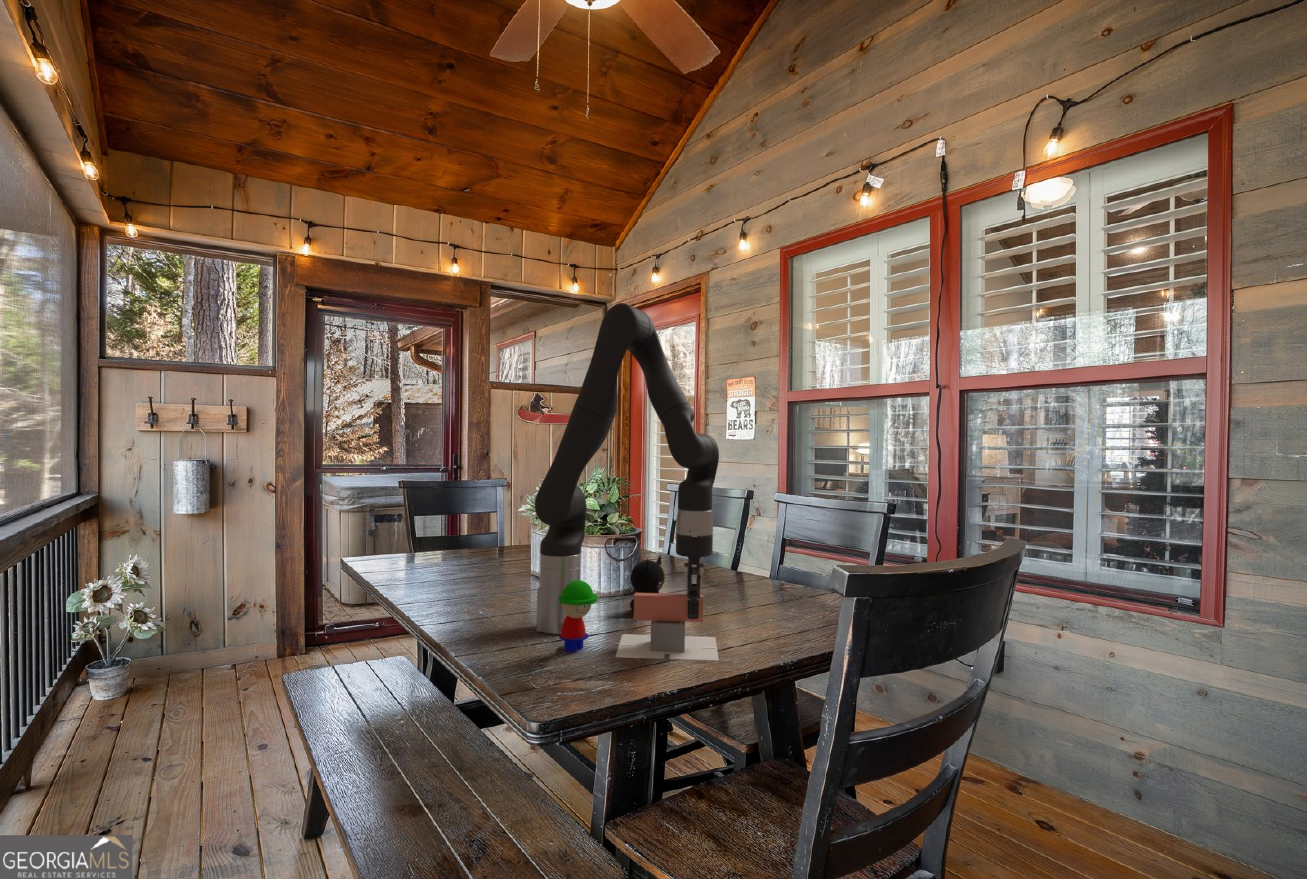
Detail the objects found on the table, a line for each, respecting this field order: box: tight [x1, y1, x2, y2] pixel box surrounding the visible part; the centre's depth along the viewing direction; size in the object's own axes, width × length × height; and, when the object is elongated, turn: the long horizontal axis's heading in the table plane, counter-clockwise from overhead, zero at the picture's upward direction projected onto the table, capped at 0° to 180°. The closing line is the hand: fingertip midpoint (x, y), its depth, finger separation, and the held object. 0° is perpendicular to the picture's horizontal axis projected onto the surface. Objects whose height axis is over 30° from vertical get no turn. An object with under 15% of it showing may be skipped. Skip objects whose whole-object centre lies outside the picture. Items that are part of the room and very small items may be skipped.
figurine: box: [629, 553, 666, 612], centre depth 165 cm, size 16×14×15 cm
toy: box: [558, 580, 599, 654], centre depth 131 cm, size 8×8×15 cm
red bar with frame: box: [633, 592, 704, 652], centre depth 134 cm, size 14×7×10 cm, turn 87°
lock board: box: [614, 621, 720, 662], centre depth 134 cm, size 20×15×6 cm
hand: (692, 616), depth 134 cm, fingers closed on red bar with frame, 2 cm apart
